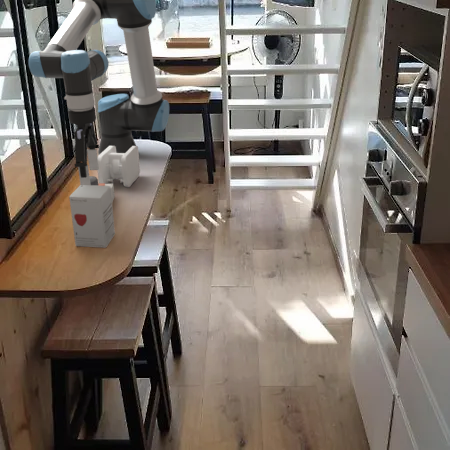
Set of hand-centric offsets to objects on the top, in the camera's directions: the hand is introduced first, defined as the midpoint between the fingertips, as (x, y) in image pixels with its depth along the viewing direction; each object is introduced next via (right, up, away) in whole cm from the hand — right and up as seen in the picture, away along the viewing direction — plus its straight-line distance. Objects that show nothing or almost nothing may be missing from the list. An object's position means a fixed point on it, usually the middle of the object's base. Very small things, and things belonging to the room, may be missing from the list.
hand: (90, 178), depth 181 cm
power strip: (0, -8, +10) cm, 13 cm away
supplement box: (+4, -18, -10) cm, 22 cm away
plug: (0, -10, +4) cm, 10 cm away
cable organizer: (+4, +1, +30) cm, 30 cm away
